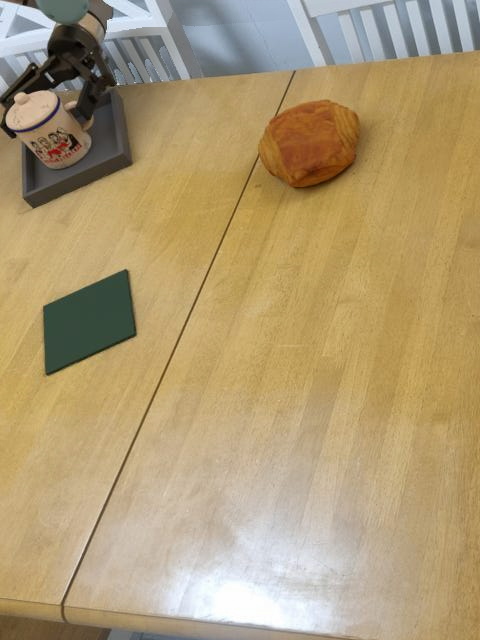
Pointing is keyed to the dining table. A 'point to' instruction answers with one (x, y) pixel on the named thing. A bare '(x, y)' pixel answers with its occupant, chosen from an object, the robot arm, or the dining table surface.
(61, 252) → the dining table surface
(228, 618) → the dining table surface
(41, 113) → the teacup with lid
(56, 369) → the mat
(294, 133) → the croissant
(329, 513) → the dining table surface
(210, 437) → the dining table surface
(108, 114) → the tray
